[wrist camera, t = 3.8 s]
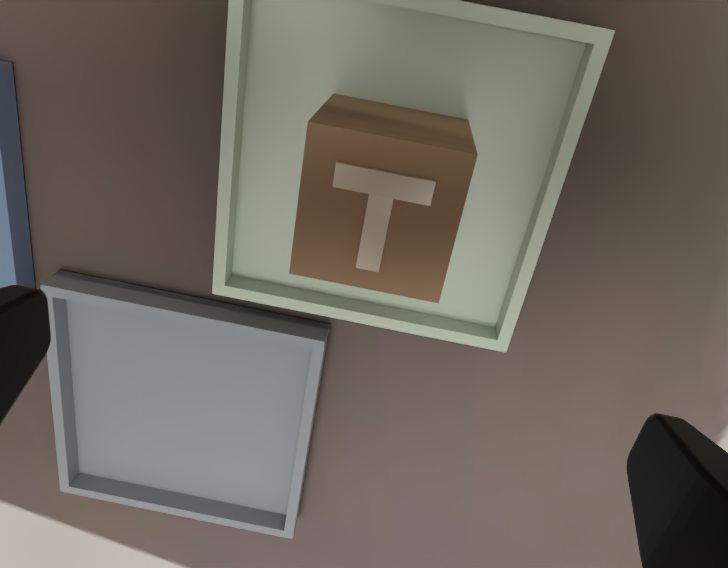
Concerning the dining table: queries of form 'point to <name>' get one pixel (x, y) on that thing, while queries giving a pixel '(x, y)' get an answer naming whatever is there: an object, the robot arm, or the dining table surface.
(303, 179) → the letter cube
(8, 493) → the dining table surface
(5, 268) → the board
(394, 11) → the green tray
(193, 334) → the grey tray
